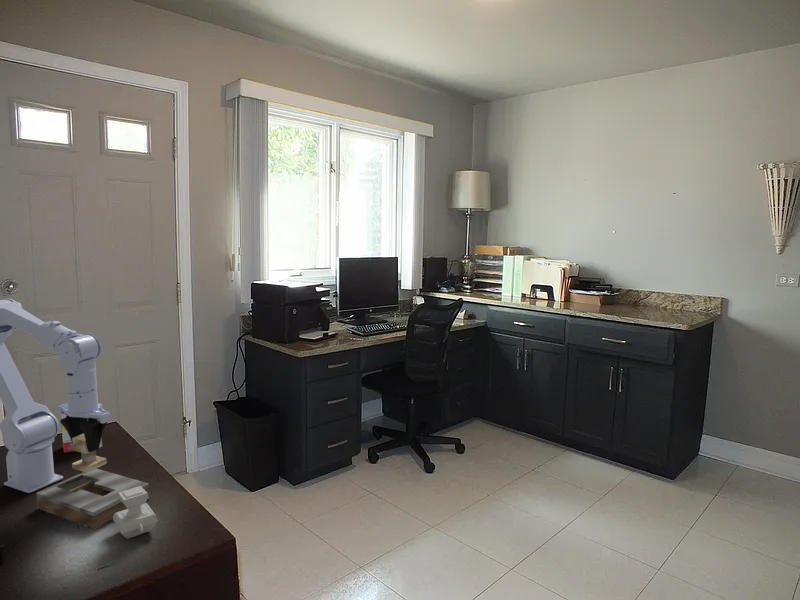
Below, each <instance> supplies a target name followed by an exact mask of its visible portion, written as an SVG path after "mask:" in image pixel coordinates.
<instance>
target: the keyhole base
mask: <svg viewBox="0 0 800 600" xmlns="http://www.w3.org/2000/svg"><path fill="white" fill-rule="evenodd" d="M81 479H84V480H86V481H87V480H88V481H87V482H85V483H83V484H81V485H78V486H77V487H74V488H72V489H70V490H68V489H64V487H66V486H68V485H71V484H72V483H75V482H77V481H79V480H81ZM138 486H141V487H142V488H143V489H144V490H145V491H146V492H147V493H148V496H149V498H148V499H149V500H150V497H151V496H150V483H148V482H145V481H141V480H138V479H134V478H131V477H127V476H124V475H121V474H117V473H114V472H110V471H107V470H103V469H100V468H99V469H98V468H96V469H94V470H92V471H90V472H88V473H86V472H83V471H82V472H81V473H78V474H76V475H74V476H71V477H68V478H66V479H64V480H62V481H61V482H60V481H59V482H58V483H55V484H53V485H52V486H49V487H46V488H45V489H42V490H39V491H37V492H35V497H36V509H37V510H39V509H40V511H42V510H43V512H45V511H46V512H45V513H48V514H50V513H51V515H53V514H54V516H56V515H57V516H56V517H59V518H62V517H63V518H62V519H64V518H67V519H69V520H68V521H70V520H72V521H71V522H73V521H74V522H73V523H76V522H77V523H76V524H78V523H80V524H79V525H81V524H82V526H84V525H86V526H85V527H87V526H88V528H89V527H91V528H90V529H92V528H94V529H93V530H96V529H98V528H100V527H101V526H103V525H105V524H106V523H105V522H107V521H109V520H110V521H112V520H113V515H114V513H116V512H119V511H122V510H125V509H127V507H126V506H125V505H124V504H123V502H122V501H121V500H120V499H119V495H118V493H119V492H122V491H125V490H129V489H132V488H135V487H138ZM148 499H147V501H148ZM67 519H66V520H67ZM111 519H112V520H111ZM110 521H109V522H110ZM104 523H105V524H104ZM107 523H108V522H107ZM102 524H103V525H102ZM100 525H101V526H100ZM99 526H100V527H99ZM97 527H98V528H97ZM95 528H96V529H95Z"/></svg>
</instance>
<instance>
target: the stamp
mask: <svg viewBox="0 0 800 600" xmlns="http://www.w3.org/2000/svg"><path fill="white" fill-rule="evenodd" d="M118 495H119V499H120V500H121V501H122V502H123V504H124V505H125V506H126V507H127V509H125V510H122V511H119V512H116V513H114V515H113V519H112V521H113V522H114V524H115V525H116V527H117V529H118V531H119V532H120V534H121V535H122V537H124V538H126V540H128V539H131V538H133V537H136V536H139V535H142V534H145V533H147V532H148V533H149V532H150V531H152V529H154V527H155V526H156V525H157V523H158V522H159V519H158V517H157V516H156V514H155V512H154V511H153V509H152V508H151V507H150V506H149V504H148V503H147V501H148V500H147V499H148V498H149V496H150V495H149V496H148V493H147V492H146V491H145V490H144V489H143V488H142V487H141V486H138V487H135V488H132V489H129V490H125V491H122V492H119V493H118Z"/></svg>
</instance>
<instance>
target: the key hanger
mask: <svg viewBox="0 0 800 600" xmlns="http://www.w3.org/2000/svg"><path fill="white" fill-rule="evenodd" d="M102 437H103V436H101V440H100V445H99V449H100V448H101V447H103V439H102ZM72 441H73V450H74V451H73V452H77V453H80V454H81V459H80V460H77V461H74V462H73V463H71V465H72V466H71V467H72V469H73V470H75V471H80V472H82V473H83V472H86V473H88V472H90V471H92V470H94V469H96V468H97V469H98V468H100V467H102V466H104V465H106V464H108V460H107V457H103V456H99V455H97V452H96V451H97V450H95V451H92V452H88V449H87V445H86V439H85V436H84V433H83V434H81V435H78V436H76V437H73V438H72Z"/></svg>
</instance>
